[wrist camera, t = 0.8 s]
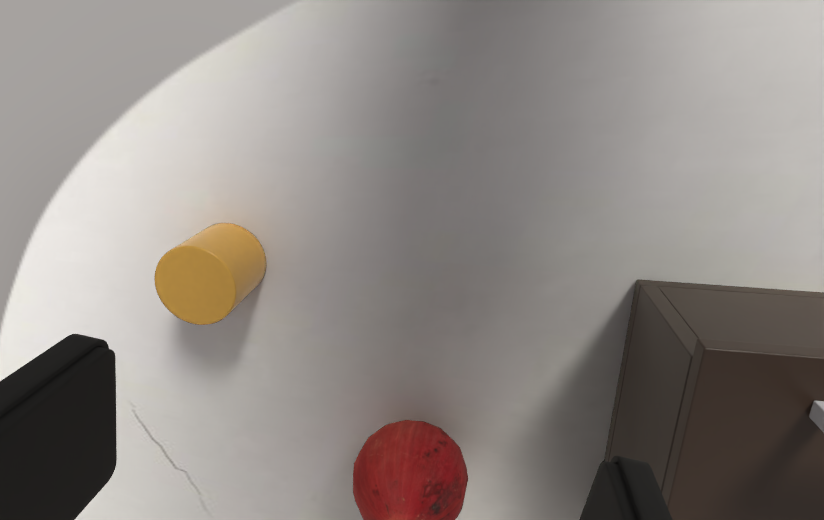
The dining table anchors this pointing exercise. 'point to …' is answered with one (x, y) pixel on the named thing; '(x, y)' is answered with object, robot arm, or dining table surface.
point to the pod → (210, 273)
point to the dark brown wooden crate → (692, 352)
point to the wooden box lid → (749, 434)
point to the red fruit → (410, 474)
